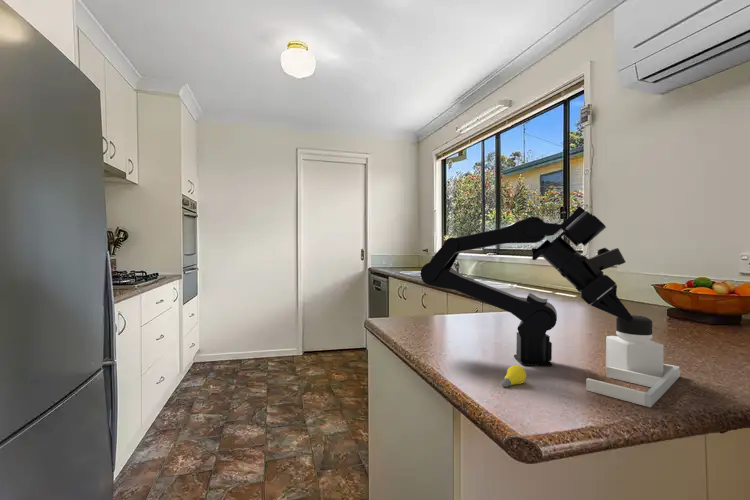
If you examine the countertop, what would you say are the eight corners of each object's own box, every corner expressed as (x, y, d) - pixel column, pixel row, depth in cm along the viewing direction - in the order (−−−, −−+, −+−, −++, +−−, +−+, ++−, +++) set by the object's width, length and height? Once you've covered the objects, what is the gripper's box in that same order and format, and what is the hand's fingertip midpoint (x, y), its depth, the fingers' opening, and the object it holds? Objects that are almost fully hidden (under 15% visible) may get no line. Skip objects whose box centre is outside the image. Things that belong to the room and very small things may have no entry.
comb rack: (650, 407, 60) (650, 395, 60) (586, 390, 67) (586, 379, 67) (679, 376, 75) (679, 366, 75) (624, 365, 82) (624, 356, 82)
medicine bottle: (664, 381, 72) (665, 319, 72) (627, 380, 72) (628, 319, 72) (638, 369, 79) (639, 313, 79) (605, 368, 80) (605, 312, 79)
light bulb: (528, 382, 71) (531, 368, 70) (509, 397, 68) (512, 383, 66) (513, 372, 74) (515, 358, 72) (494, 387, 70) (496, 372, 69)
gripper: (602, 233, 70) (675, 295, 65) (594, 236, 87) (652, 286, 82) (555, 273, 74) (621, 335, 69) (556, 268, 90) (609, 318, 85)
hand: (627, 316), depth 76 cm, fingers open, 9 cm apart
